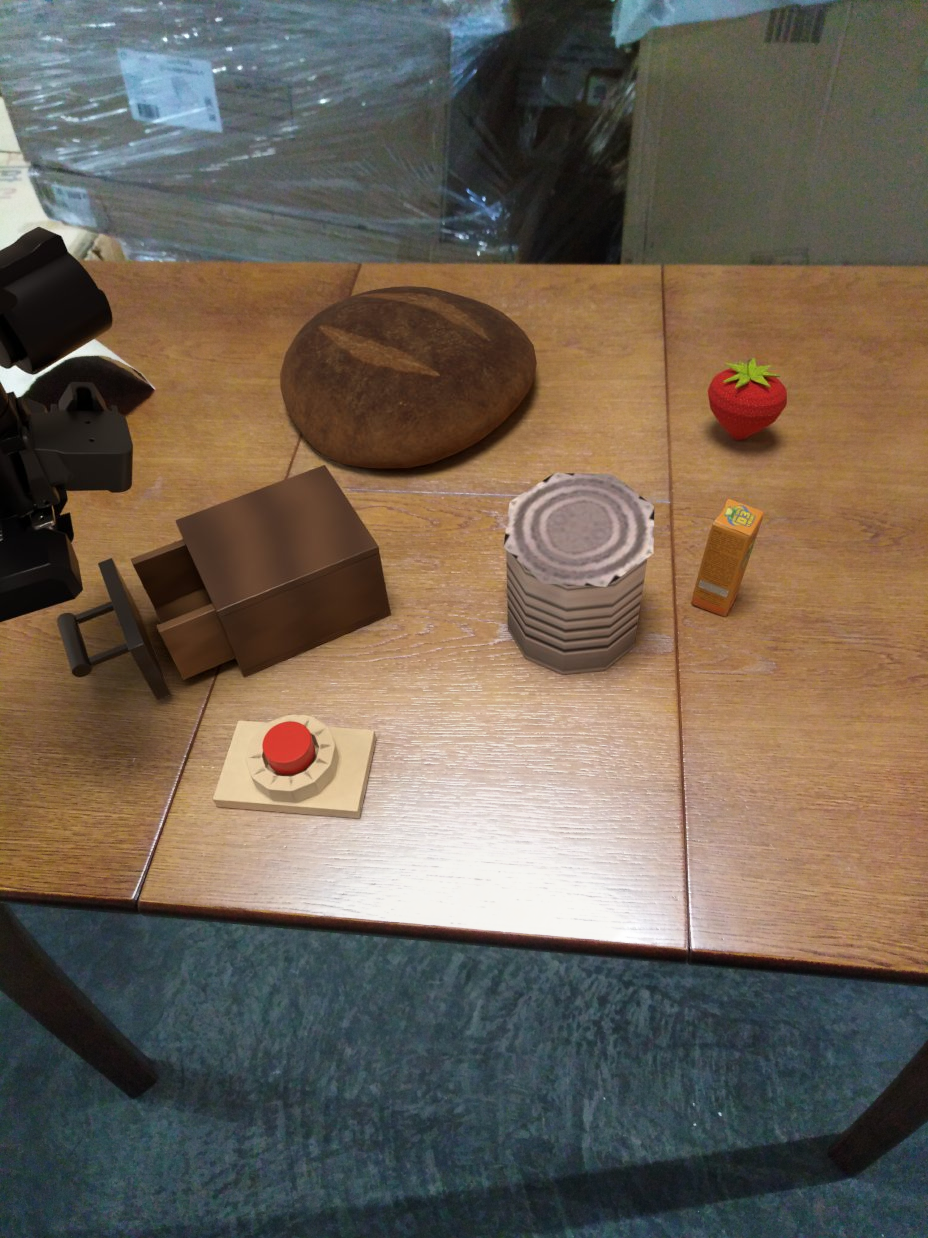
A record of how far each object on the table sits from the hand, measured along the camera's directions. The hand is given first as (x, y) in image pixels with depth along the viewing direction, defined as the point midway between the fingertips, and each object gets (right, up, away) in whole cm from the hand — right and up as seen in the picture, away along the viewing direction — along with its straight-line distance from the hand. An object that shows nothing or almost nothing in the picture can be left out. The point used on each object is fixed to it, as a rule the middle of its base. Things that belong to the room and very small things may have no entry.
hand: (64, 587), depth 65 cm
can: (+38, -3, +12) cm, 40 cm away
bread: (+23, +23, +34) cm, 47 cm away
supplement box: (+51, -1, +13) cm, 52 cm away
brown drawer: (+5, -4, +12) cm, 13 cm away
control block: (+16, -14, +4) cm, 22 cm away
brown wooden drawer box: (+14, -1, +15) cm, 20 cm away
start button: (+16, -12, +2) cm, 20 cm away
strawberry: (+57, +16, +26) cm, 64 cm away
